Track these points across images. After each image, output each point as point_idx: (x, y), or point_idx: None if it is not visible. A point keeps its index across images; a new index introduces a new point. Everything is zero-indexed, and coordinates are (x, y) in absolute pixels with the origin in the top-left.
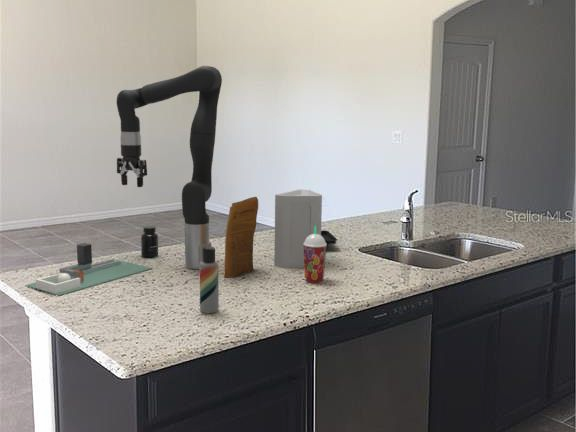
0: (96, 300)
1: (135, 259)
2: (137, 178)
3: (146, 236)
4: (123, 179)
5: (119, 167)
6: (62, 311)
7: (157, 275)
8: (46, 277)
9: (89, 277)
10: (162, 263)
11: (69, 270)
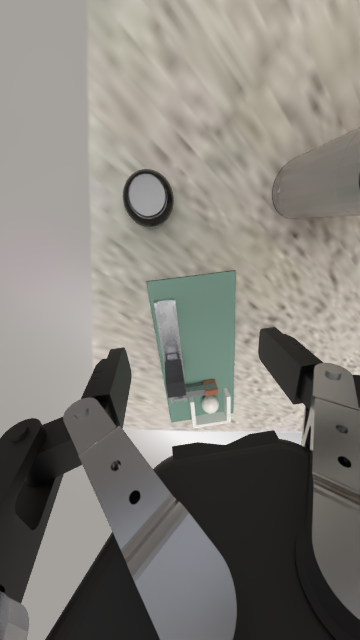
0: (277, 393)
1: (153, 249)
2: (295, 397)
3: (161, 222)
4: (126, 400)
5: (38, 530)
6: (274, 423)
7: (270, 288)
8: (195, 419)
9: (201, 365)
10: (221, 228)
11: (193, 395)
